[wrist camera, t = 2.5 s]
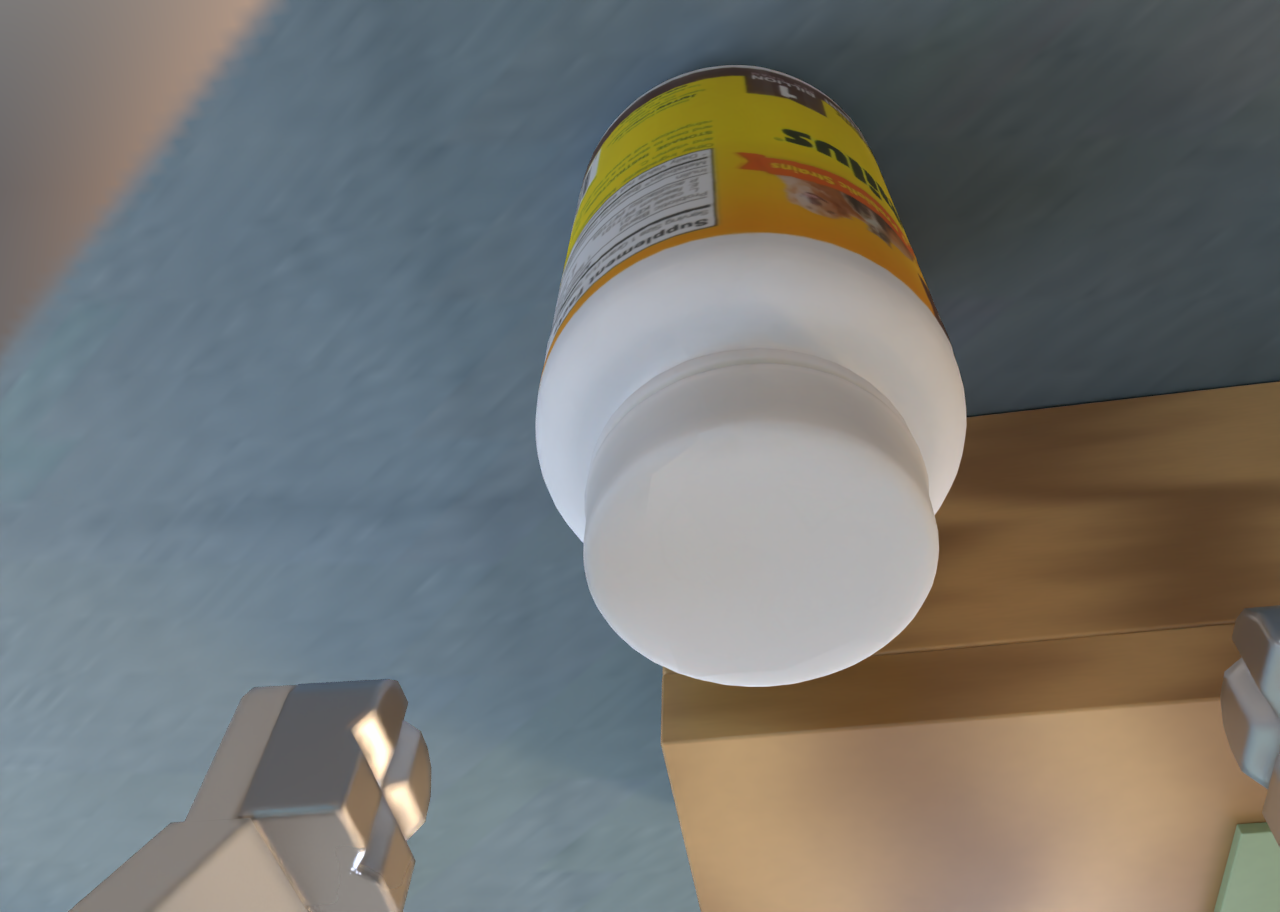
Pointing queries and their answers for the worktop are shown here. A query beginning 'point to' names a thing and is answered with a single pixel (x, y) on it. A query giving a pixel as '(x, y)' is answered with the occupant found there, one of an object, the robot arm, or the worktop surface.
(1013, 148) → the worktop surface
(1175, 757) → the oak shelf
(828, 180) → the supplement bottle
